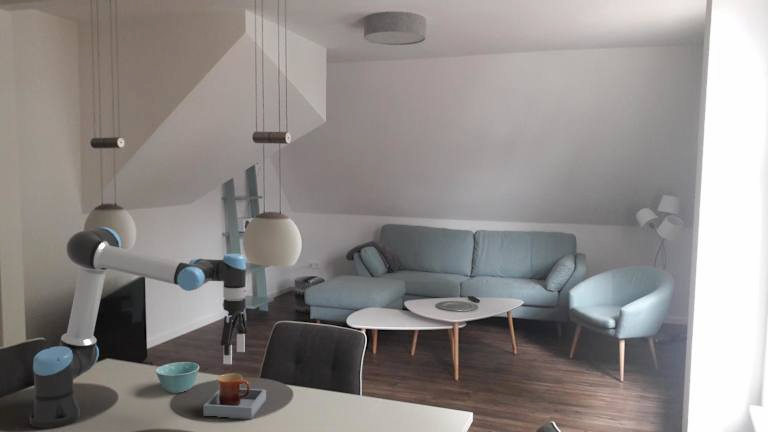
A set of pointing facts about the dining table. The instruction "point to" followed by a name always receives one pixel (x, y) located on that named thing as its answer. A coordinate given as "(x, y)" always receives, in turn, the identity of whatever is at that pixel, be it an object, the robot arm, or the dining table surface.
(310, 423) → the dining table surface
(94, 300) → the robot arm
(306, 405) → the dining table surface
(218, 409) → the tray
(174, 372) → the bowl
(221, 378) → the mug
